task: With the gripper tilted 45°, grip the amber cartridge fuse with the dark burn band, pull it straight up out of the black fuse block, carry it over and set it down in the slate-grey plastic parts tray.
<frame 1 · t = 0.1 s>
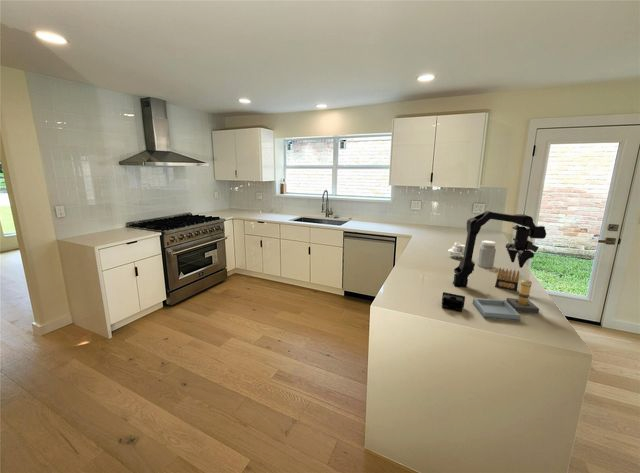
hand: (516, 264, 160), 15 cm above the table, tool pointing down, fingers open, 9 cm apart
jar: (484, 266, 201), on the table
fuse block: (521, 307, 141), on the table
parts tray: (494, 311, 137), on the table
mechanical part: (455, 257, 221), on the table
fuse: (524, 294, 140), in the fuse block
ammunition clip: (505, 289, 164), on the table
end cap: (452, 307, 141), on the table
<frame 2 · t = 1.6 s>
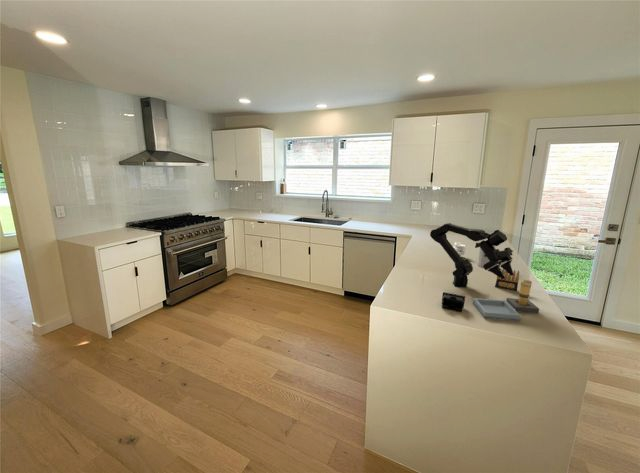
hand: (508, 276, 145), 14 cm above the table, tool tilted 45°, fingers open, 9 cm apart
nothing on the table moved.
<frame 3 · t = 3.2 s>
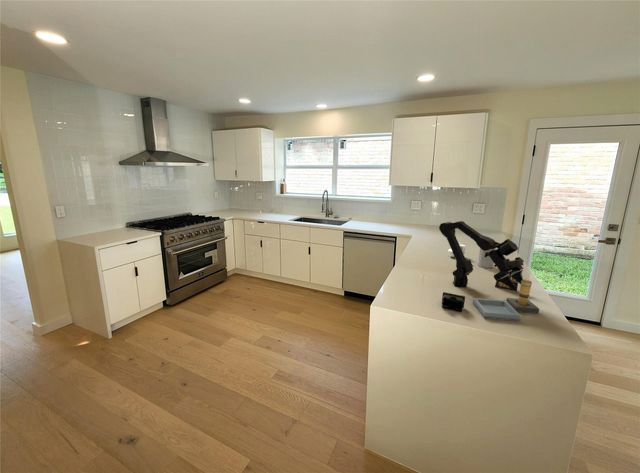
hand: (519, 287, 141), 10 cm above the table, tool tilted 45°, fingers open, 9 cm apart
nothing on the table moved.
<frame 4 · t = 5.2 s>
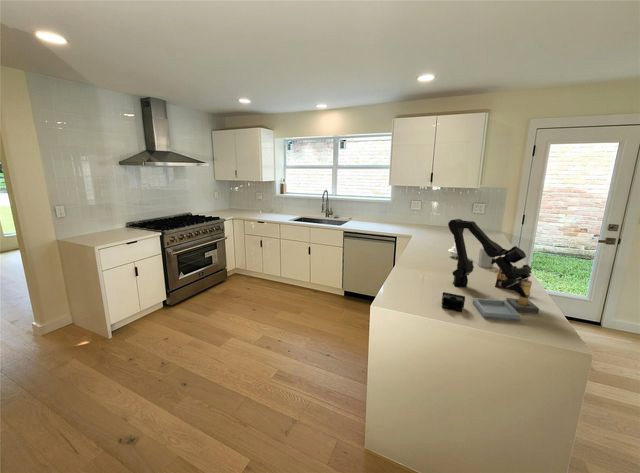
hand: (527, 295, 138), 7 cm above the table, tool tilted 45°, fingers closed on fuse, 4 cm apart
fuse: (524, 294, 140), in the fuse block, touching gripper
everything else where it was.
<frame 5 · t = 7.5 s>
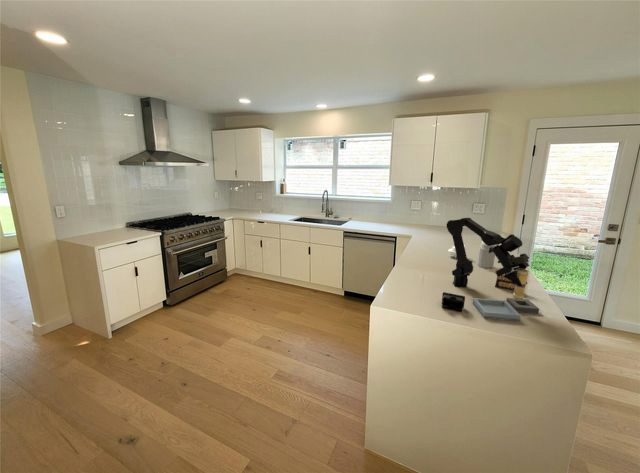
hand: (523, 285, 135), 13 cm above the table, tool tilted 45°, fingers closed on fuse, 4 cm apart
fuse: (520, 284, 136), point 13 cm above the table, touching gripper
everything else where it was.
when the fingers open (10 cm above the table, at t = 10.1 s): fuse drops 1 cm, resting on parts tray.
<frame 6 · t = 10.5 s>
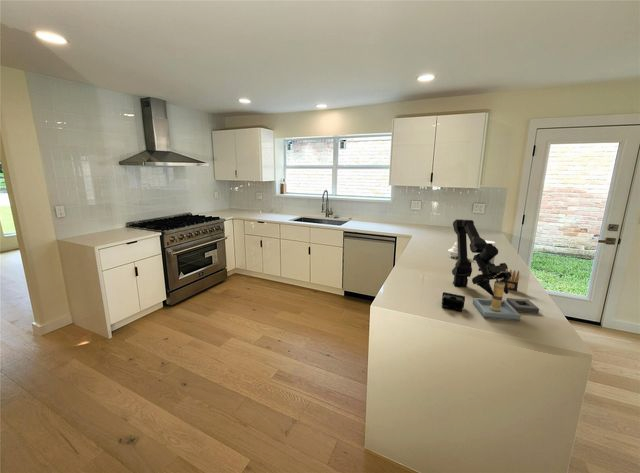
hand: (500, 294, 133), 10 cm above the table, tool tilted 45°, fingers open, 8 cm apart
fuse: (497, 296, 135), in the parts tray, point 8 cm above the table
everything else where it was.
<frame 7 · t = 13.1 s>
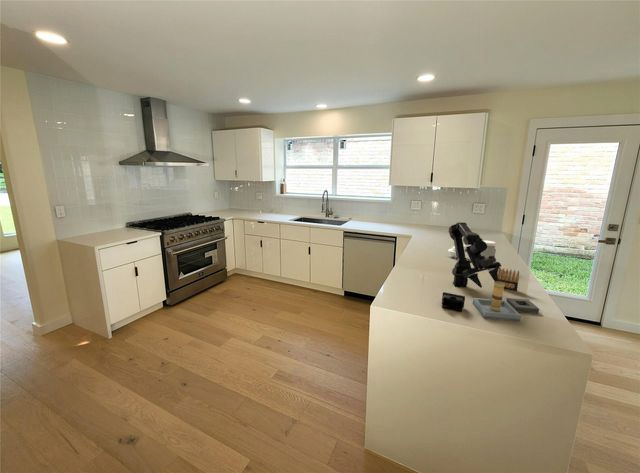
hand: (489, 285, 144), 10 cm above the table, tool tilted 40°, fingers open, 9 cm apart
nothing on the table moved.
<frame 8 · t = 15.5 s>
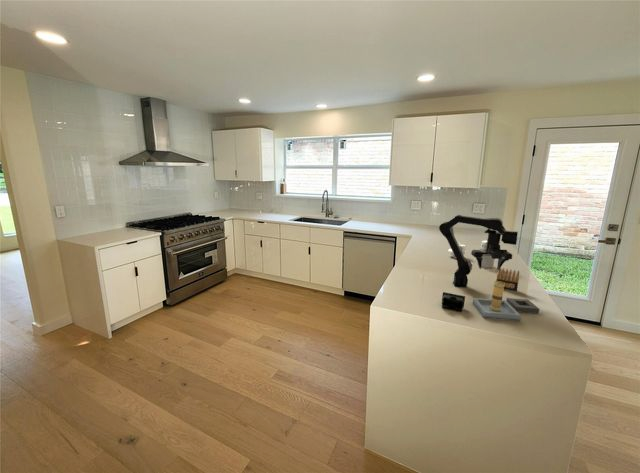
hand: (489, 269, 157), 13 cm above the table, tool pointing down, fingers open, 9 cm apart
nothing on the table moved.
at the end: fuse inside the target area on the parts tray (0.0 cm from its centre), point 8.0 cm above the parts tray's base; the gripper is holding nothing; fuse moved 16.6 cm from its start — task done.
